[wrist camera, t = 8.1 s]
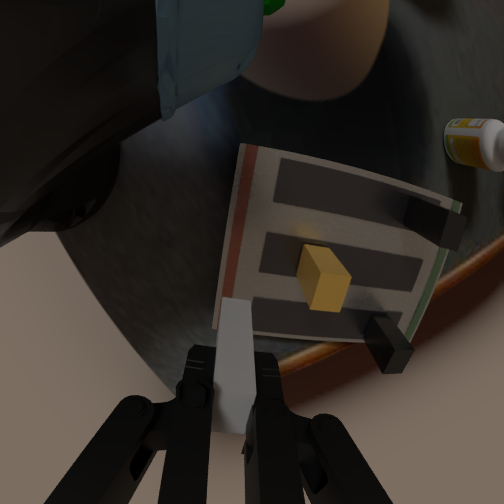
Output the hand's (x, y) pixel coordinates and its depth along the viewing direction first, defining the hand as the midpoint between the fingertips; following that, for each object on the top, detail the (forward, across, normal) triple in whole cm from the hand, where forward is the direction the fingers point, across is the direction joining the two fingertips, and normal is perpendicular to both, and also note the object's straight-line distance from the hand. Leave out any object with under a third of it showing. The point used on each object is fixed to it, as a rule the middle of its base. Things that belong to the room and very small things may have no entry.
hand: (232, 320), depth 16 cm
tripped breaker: (+11, +7, 0) cm, 13 cm away
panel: (+14, +11, 0) cm, 18 cm away
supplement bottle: (+14, +23, +16) cm, 31 cm away
